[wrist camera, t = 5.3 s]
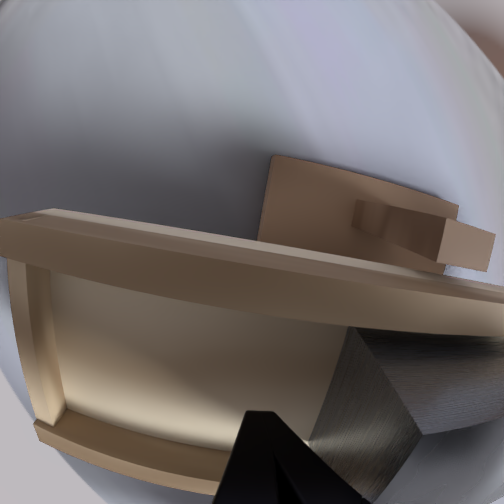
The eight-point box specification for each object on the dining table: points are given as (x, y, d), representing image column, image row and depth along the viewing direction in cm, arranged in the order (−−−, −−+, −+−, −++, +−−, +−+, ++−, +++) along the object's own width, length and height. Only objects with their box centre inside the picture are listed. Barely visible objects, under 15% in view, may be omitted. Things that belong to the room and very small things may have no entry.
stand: (376, 414, 17) (422, 488, 10) (224, 415, 16) (230, 517, 9) (447, 203, 14) (547, 225, 7) (271, 156, 13) (323, 133, 6)
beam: (517, 421, 11) (538, 444, 8) (68, 402, 10) (39, 440, 8) (573, 301, 9) (603, 316, 7) (53, 208, 8) (-1, 219, 6)
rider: (458, 427, 9) (505, 495, 5) (307, 441, 9) (328, 550, 5) (507, 329, 8) (583, 385, 4) (349, 320, 8) (423, 434, 4)
